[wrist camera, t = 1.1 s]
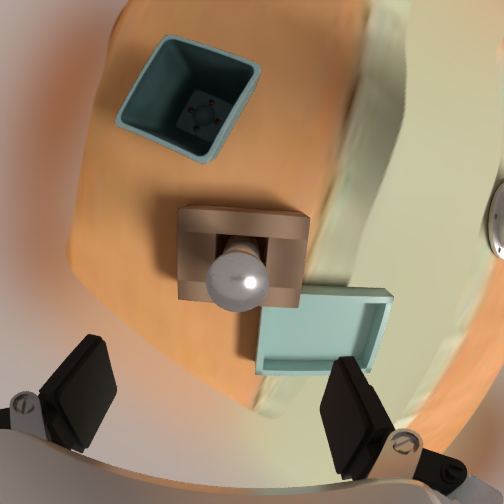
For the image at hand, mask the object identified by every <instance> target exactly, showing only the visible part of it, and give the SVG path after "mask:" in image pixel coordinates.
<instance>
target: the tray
mask: <svg viewBox="0 0 504 504" xmlns="http://www.w3.org/2000/svg"><path fill="white" fill-rule="evenodd" d="M393 299H394V296H393V295H391V294H390V293H389V292H388V291H387V290H386V289H385V288H364V287H339V286H317V285H302V287H301V294H300V301H299V308H281V307H263V306H261V307H260V317H259V328H258V338H257V348H256V357H255V375H274V376H322V375H330V373H331V369H332V366H333V362H334V361H335V360H338V358H339V357H340V356H354V358H355V359H356V361H357V363H358V365H359V367H360V368H361V370H362V372H363V373H370V371H371V369H372V366H373V363H374V360H375V358H376V355H377V352H378V349H379V346H380V343H381V340H382V337H383V334H384V331H385V327H386V324H387V321H388V317H389V314H390V310H391V306H392V303H393Z"/></svg>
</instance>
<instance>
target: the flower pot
mask: <svg viewBox="0 0 504 504" xmlns="http://www.w3.org/2000/svg"><path fill="white" fill-rule="evenodd" d="M261 70H262V68H261V66H260V65H259V64H257V63H255V62H253V61H250V60H248V59H245V58H243V57H240V56H237V55H235V54H231V53H229V52H226V51H223V50H220V49H217V48H214V47H211V46H208V45H205V44H202V43H199V42H195V41H192V40H189V39H186V38H182V37H179V36H176V35H166V36H164V37H163V39H162V40H161V41H160V43H159V44H158V46H157V47H156V49H155V50H154V52H153V53H152V55H151V56H150V58H149V60H148V61H147V63H146V64H145V66H144V68H143V69H142V71H141V73H140V74H139V76H138V78H137V80H136V81H135V83H134V85H133V87H132V88H131V90H130V92H129V93H128V95H127V97H126V99H125V101H124V103H123V105H122V106H121V108H120V110H119V112H118V114H117V116H116V119H115V124H116V125H117V126H118V127H120V128H123V129H126V130H128V131H130V132H133V133H135V134H138V135H140V136H142V137H145V138H147V139H149V140H152V141H154V142H156V143H158V144H160V145H163V146H165V147H167V148H169V149H171V150H174V151H176V152H178V153H180V154H182V155H184V156H186V157H188V158H190V159H192V160H194V161H196V162H198V163H201V164H206V163H208V162H210V161H213V160H214V159H215V158H216V157H217V156H218V154H219V152H220V150H221V148H222V146H223V144H224V142H225V140H226V139H227V137H228V135H229V133H230V132H231V130H232V128H233V126H234V124H235V123H236V121H237V119H238V117H239V116H240V114H241V112H242V111H243V109H244V107H245V105H246V104H247V102H248V100H249V99H250V97H251V95H252V94H253V92H254V90H255V87H256V85H257V82H258V79H259V76H260V73H261ZM210 101H214V104H213V105H210V104H209V102H210ZM190 108H193V109H194V110H193V112H189V109H190ZM217 119H219V120H220V121H221V122H220V123H219V124H216V122H215V121H216V120H217ZM197 126H198V127H199V128H200V129H199V130H198V131H195V127H197Z"/></svg>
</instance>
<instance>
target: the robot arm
mask: <svg viewBox="0 0 504 504" xmlns="http://www.w3.org/2000/svg"><path fill="white" fill-rule="evenodd" d="M488 232H489V240H490V244H491V248H492V250H493V252H494V254H495V255H496V256H497V257H498V258H500V259H502V260H504V182H503V183H502V184H501V185H500V186H499V187H498V189H497V190H496V192H495V194H494V197H493V200H492V203H491V207H490V212H489V222H488ZM39 392H40V394H39V395H38V396H37V395H36V394H34V393H33V392H29V391H23V392H20V393H18V394H16V395H15V396H14V397H13V398H12V399H11V401H10V407H9V408H4V409H0V504H502V503H503V496H502V494H501V492H499V491H498V490H497V489H495V488H493V487H491V486H490V485H488V484H487V483H485V482H483V481H482V480H480V479H479V478H477V477H475V476H474V475H471V476H470V477H469V476H467V468H466V466H465V465H464V464H463V463H462V462H461V461H459V460H457V459H454V458H451V457H448V456H445V455H442V454H439V453H436V452H433V451H430V450H428V449H425V448H423V441H422V438H421V437H420V435H419V434H417V433H416V432H415V431H413V430H410V429H398V430H395V428H394V426H393V424H392V422H391V420H390V419H389V416H388V415H387V413H386V411H385V409H384V407H383V405H382V403H381V401H380V399H379V397H378V395H377V394H376V392H375V390H374V388H373V387H372V386H371V385H369V384H368V382H367V380H366V378H365V376H364V374H363V372H362V370H361V368H360V367H359V365H358V363H357V361H356V359H355V358H354V356H340V357H339V358H338V360H335V361H334V362H333V366H332V369H331V373H330V376H329V379H328V383H327V386H326V389H325V392H324V395H323V398H322V401H321V404H320V414H321V418H322V421H323V425H324V428H325V432H326V436H327V440H328V443H329V447H330V451H331V454H332V458H333V462H334V466H335V469H336V472H337V474H341V477H342V480H346V479H351V478H352V480H353V481H349V482H341V483H334V484H326V485H318V486H306V487H292V488H265V489H264V488H232V487H218V486H208V485H199V484H191V483H184V482H178V481H173V480H168V479H163V478H157V477H153V476H149V475H144V474H141V473H137V472H133V471H129V470H126V469H122V468H119V467H115V466H112V465H109V464H106V463H103V462H100V461H97V460H94V459H92V458H89V457H86V456H84V455H81V454H78V453H76V452H73V451H71V449H73V450H75V451H78V452H80V453H83V451H84V449H85V448H88V447H89V446H90V444H91V442H92V440H93V438H94V436H95V434H96V432H97V430H98V428H99V426H100V424H101V422H102V420H103V418H104V416H105V414H106V413H107V411H108V409H109V407H110V405H111V403H112V401H113V399H114V397H115V396H116V393H117V386H116V382H115V379H114V375H113V371H112V368H111V363H110V360H109V355H108V351H107V346H106V343H105V341H104V340H102V338H101V337H100V336H96V335H91V334H88V335H87V336H86V337H85V338H84V339H83V340H82V341H81V342H80V343H79V345H78V346H77V347H76V348H75V349H74V350H73V351H72V353H70V355H69V356H68V357H67V358H66V359H65V360H64V361H63V363H62V364H61V365H60V366H59V367H58V369H57V370H56V371H55V372H54V373H53V374H52V376H51V377H50V378H49V379H48V380H47V382H46V383H45V384H44V385H43V386H42V388H41V389H40V390H39Z"/></svg>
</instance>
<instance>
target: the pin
mask: <svg viewBox="0 0 504 504" xmlns="http://www.w3.org/2000/svg"><path fill="white" fill-rule="evenodd" d="M206 288H207V291H208V294H209V296H210V297H211V299H212V300H213V301H214V302H215V303H216V304H217V305H218V306H219V307H221V308H223V309H225V310H228V311H232V312H245V311H248V310H251V309H253V308H255V307H257V306H258V305H259V304H260V303H261V302H262V301H263V300H264V298H265V297H266V295H267V292H268V288H269V278H268V273H267V270H266V267H265V266H264V264H263V263H262V261H261V260H260V254H259V246H258V243H257V241H256V240H255V239H254V238H253V237H252V236H243V235H234V236H232V237H231V238H230V239H229V240H228V242H227V244H226V246H225V248H224V251H223V254H222V255H220V256H219V257H217V258H216V259H215V260H214V261H213V263H212V264H211V266H210V268H209V270H208V273H207V276H206Z"/></svg>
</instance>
